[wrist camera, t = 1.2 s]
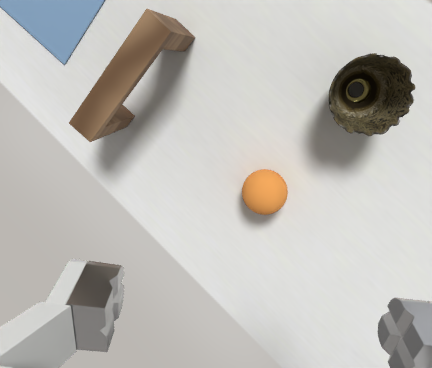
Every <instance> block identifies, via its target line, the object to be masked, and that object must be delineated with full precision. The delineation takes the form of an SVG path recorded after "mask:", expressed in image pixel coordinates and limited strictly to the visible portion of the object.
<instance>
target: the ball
mask: <svg viewBox="0 0 432 368" xmlns="http://www.w3.org/2000/svg"><path fill="white" fill-rule="evenodd" d="M287 194H288V191H287V185H286V183H285V181H284V179H283V178H282V177H281V176H280V175H279V174H278V173H276V172H274V171H271V170H265V169H264V170H258V171H255V172H253V173H252V174H251V175H249V176H248V177H247V179H246V180H245V182H244V184H243V188H242V196H243V200H244V202H245V204H246V205H247V207H248V208H249V209H251V210H252V211H253V212H255V213H258V214H263V215H267V214H272V213H274V212H276V211H278V210H279V209H280V208H281V207H282V206H283V205H284V203H285V202H286V199H287Z"/></svg>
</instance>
